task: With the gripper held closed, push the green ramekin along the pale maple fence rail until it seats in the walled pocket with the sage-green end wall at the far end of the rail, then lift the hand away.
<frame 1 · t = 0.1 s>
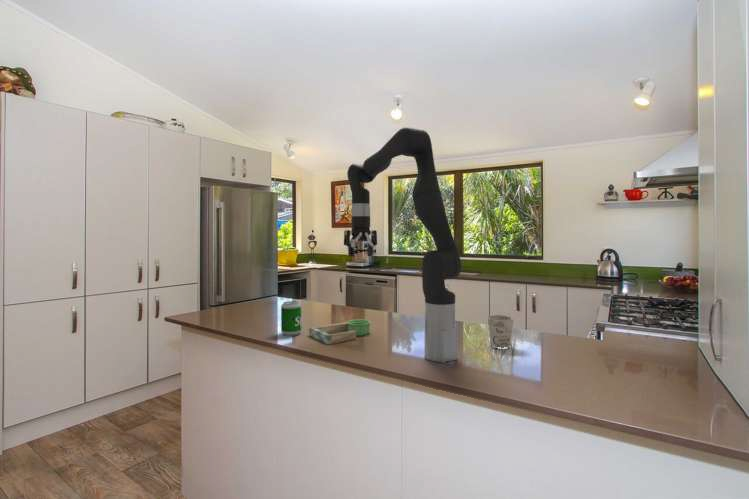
hand: (360, 256, 160), 29 cm above the counter, tool pointing down, fingers open, 8 cm apart
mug: (501, 346, 138), on the counter
ramekin: (358, 333, 155), on the counter
soda can: (291, 334, 153), on the counter
rail pocket: (343, 335, 151), on the counter
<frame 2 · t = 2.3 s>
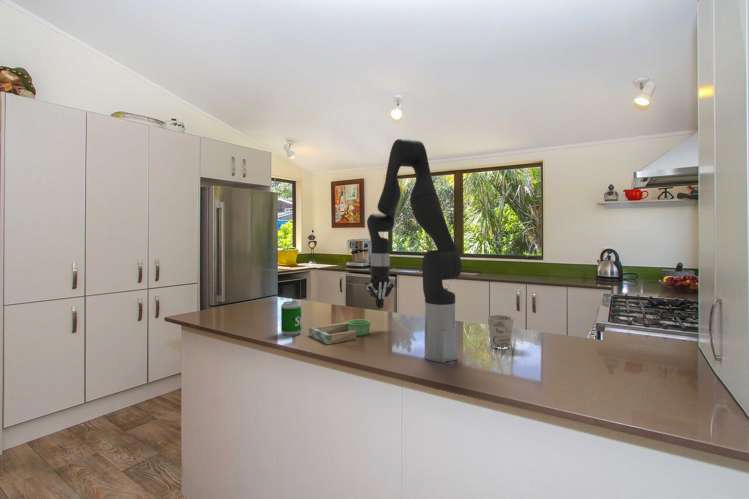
hand: (379, 307, 160), 9 cm above the counter, tool pointing down, fingers closed
nothing on the counter moved.
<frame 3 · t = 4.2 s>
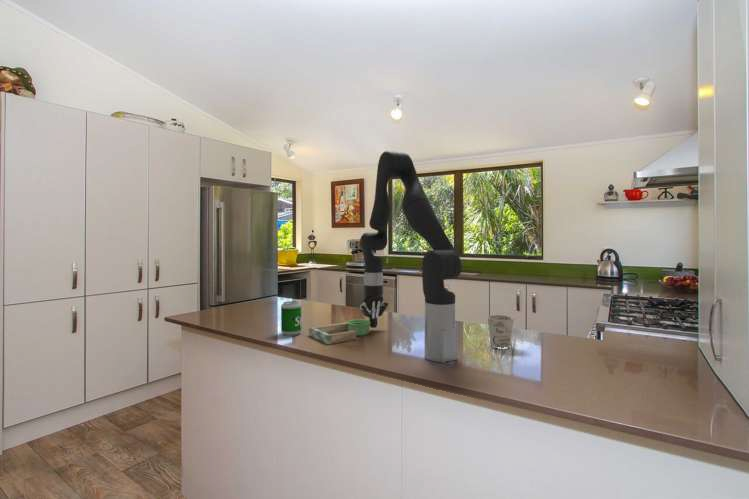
hand: (373, 327, 159), 1 cm above the counter, tool pointing down, fingers closed
ramekin: (358, 333, 155), on the counter, touching gripper
everything else where it was.
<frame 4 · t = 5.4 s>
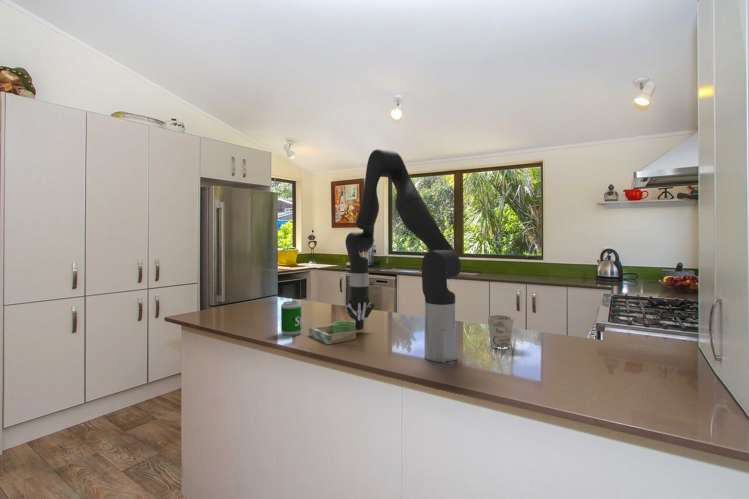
hand: (359, 329, 155), 1 cm above the counter, tool pointing down, fingers closed
ramekin: (343, 335, 151), on the counter, touching gripper
everything else where it was.
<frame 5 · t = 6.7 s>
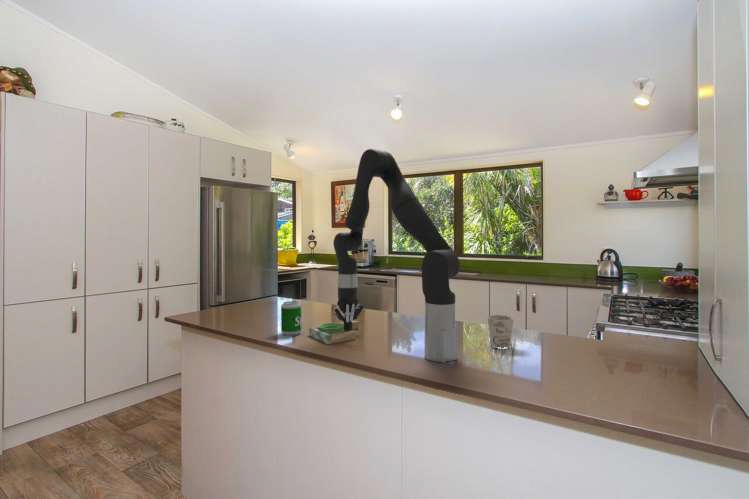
hand: (348, 331, 152), 1 cm above the counter, tool pointing down, fingers closed
ramekin: (331, 337, 148), on the counter, touching gripper, rail pocket
everything else where it was.
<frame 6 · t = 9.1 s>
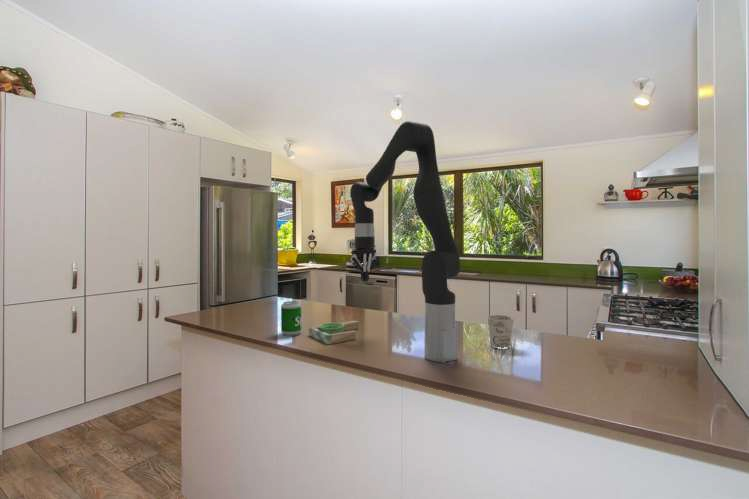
hand: (365, 281, 153), 20 cm above the counter, tool pointing down, fingers closed
ramekin: (331, 337, 148), on the counter, touching rail pocket
everything else where it was.
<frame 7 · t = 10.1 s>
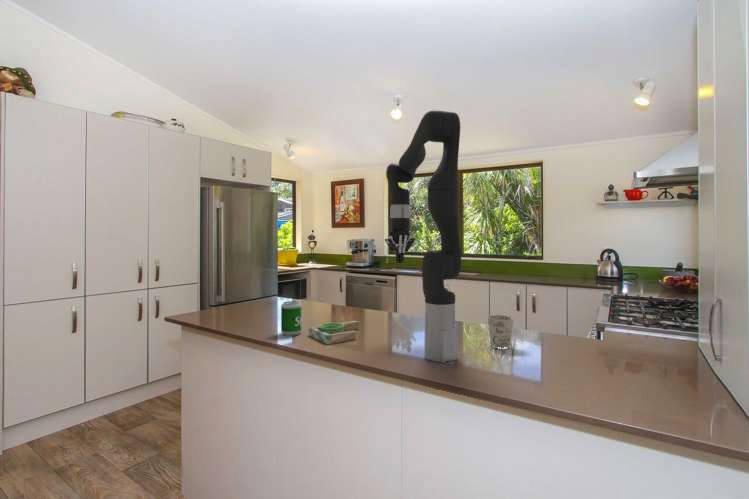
hand: (399, 263, 152), 27 cm above the counter, tool pointing down, fingers closed
nothing on the counter moved.
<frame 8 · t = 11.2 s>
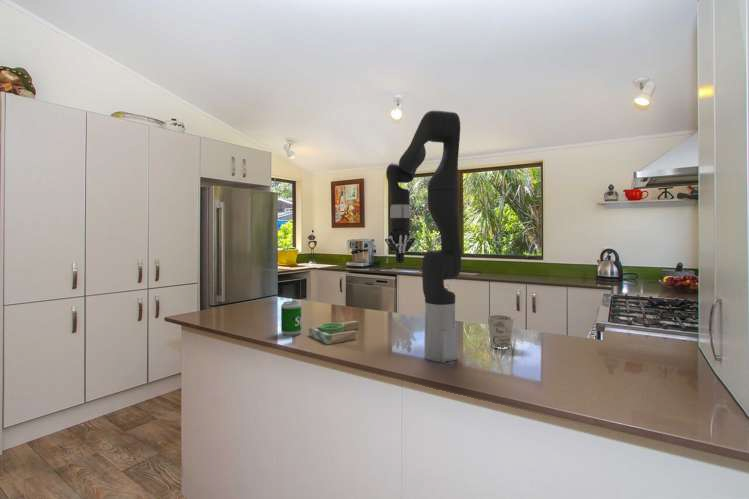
hand: (399, 263, 152), 27 cm above the counter, tool pointing down, fingers closed
nothing on the counter moved.
at the end: ramekin inside the target area (0.5 cm from its centre), on the counter; ramekin tilted 0°; ramekin moved 11.7 cm from its start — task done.
